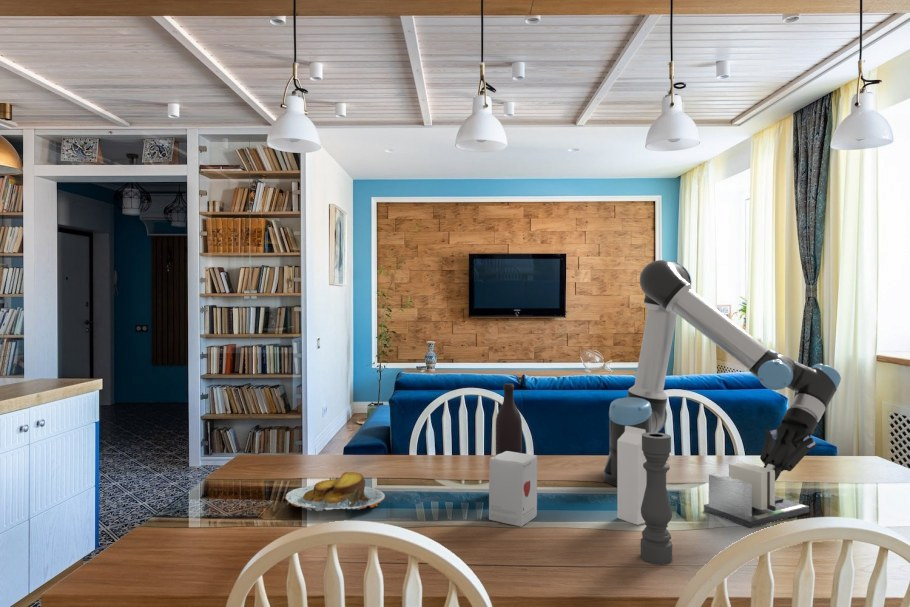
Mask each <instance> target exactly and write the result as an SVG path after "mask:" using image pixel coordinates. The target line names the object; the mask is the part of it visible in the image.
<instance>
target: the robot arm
mask: <svg viewBox="0 0 910 607" xmlns="http://www.w3.org/2000/svg"><path fill="white" fill-rule="evenodd" d="M639 285H640V288H641V291H642V292H643V294H644V299H643V304H644V305H645V307H646V308H647V311H646V317H645V318H646V319H645V324H644V330H643V335H642V341H641V347H640V350H639V351H640V352H639V358H638V363H637V369H636V375H635V380H634V385H632V386H631V387H630V388H628V391H627V397H622V398H616V399H613V401H611V402H610V405H609V411H608V418H609V454H608V458H607V460H606V462H605V465H604V469H603V474H602V476H603V478H602V479H603V481H604V482H605V483H607V484H609V485H611V486H615V487H617V440H618V439H619V438H620V437H621V436H622V434H623V433H624V432H625V426H630V427H635V428H640V429H645V430H646V433H650V432H654V433H660V431H661V430H662V429H664V426H665V425H666V422H667V419H668V411H667V410H668V409H667V408H666V407H667V401H668V395H667V394H666V393H665V391H664V388H665V384H666V377H667V372H668V366H669V360H670V356H671V350H672V343H673V340H674V339H673V338H674V335H675V334H674V333H675V327H676V322H677V317H678V316H679V317H681V318H682V319H683V320H685V321H686V322H687V323H688V324H689V325H691V326H692V327H693V328H694V329H695V330H697V331H698V332H699V333H701V334H702V335H703V336H705V337H706V338H707V339H709V340H710V341H711V342H712V343H713V344H715V345H716V346H717V347H718V348H720V349H721V350H722V351H723V352H725V353H726V354H728V355H729V356H730V357H731V358H733V359H734V360H735V361H736V362H737V363H738V364H740V365H742V366H743V367H744V368H745V369H746V370H748V371H749V372H750V373H751V374H752V375H753V376H754V377H756V378H757V379H758V381H759V382H760V384H761V385H762V386H763V387H765V388H766V389H768V390H771V391H772V390H773V391H779V390H784V389H785V388H786V389H790V390H791V391H793V392H796V394H795V396H794V397H793V399H792V401H791V402H790V404H789V407H788V408H787V410H786V412H785V413H784V415H783V417H782V419H781V423H780V425H777V427H776V429H773V430H771V429H769V428H768V429H765V440H764V442H763V446H762V450H761V453H760V457H759V458H760V461H761V463H763V467H764V468H768V469H772V470H775V482H776V481H777V480H778V479H779V477H780V475H781V473H782V472H784V471H787V472H791V471H792V470H794V469H795V467H796V466H797V465H798V464H799V463H800V462H801V461H802V460H803V458H804V457H805V456H806V455H807V454H808V453H809V452H810V451H811V450H813V449H814V448H816V447H817V443H816V442H815V440H814V439H813V438H812V436H811V435H812V434H813V433H814V431H815V429H816V428H817V426H818V423H819V422H820V420H821V419H822V416H823V415H824V413H825V411H826V410H827V408H828V406H829V404H830V402H831V401H832V399H833V397H834V395H835V394H836V392H837V391H838V387H839V385H840V383H841V380H842V377H841V374H840V372H839V371H838V370H837V369H835V368H834V367H833V366H830V365H828V364H825V365H824V364H823V363H816V364H814V365H812V366H811V367H810V366H807V365H804V364H802V363H800V362H798V361H797V360H795V359H792V358H790V357H789V356H786V355H784V354H782V353H781V352H777V351H775V350H774V349H771V348H768V347H767V346H766V345H765V344H763V343H761V342H760V341H759V340H758V339H756V338H755V337H753V336H752V335H751V333H748V332H747V331H746V330H745V329H744V328H742V327H741V326H740V325H738V324H737V323H735V322H734V321H733V320H732V319H730V318H729V316H727V315H725V314H724V313H722V312H721V311H720V310H718V308H716V307H715V306H714V305H713V304H711V303H710V302H708V301H707V300H705V299H704V298H703V297H702V296H700V295H699V294H698V293H696V292H695V291H694V290H693V289H692V277H691V274H690V272H689V270H687V269H686V267H684V266H683V265H681V263H679V262H676V261H668V260H664V259H663V260H662V259H658V260H654V261H651V262H649V263H648V264H647V265H646V266H644V268H643V269H642V270H641V272H640V275H639ZM677 315H678V316H677Z"/></svg>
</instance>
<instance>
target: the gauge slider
mask: <svg viewBox="0 0 910 607" xmlns="http://www.w3.org/2000/svg"><path fill="white" fill-rule="evenodd" d="M728 477H731V478H734V479H738V480H741V481H745V482H748V483H751V484H752V507H754V508H757V509H760V510H763V509H769V510H772V511H776V507H775V496H776V481H775V470H772V469H768V468H764V466H760V465H755V464H752V463H748V462H744V461H739V462H734V463H733V462H731V463H729V464H728Z"/></svg>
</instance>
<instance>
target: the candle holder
mask: <svg viewBox="0 0 910 607" xmlns="http://www.w3.org/2000/svg"><path fill="white" fill-rule="evenodd" d="M642 451H643V454H644V456H645V459H646V460H647V461H646V462H645V463H643V467H644V469H646V489H645V493H644V497H643V501H642V505H641V515H642V518H643V520H644V521H645V523H644V524H645V528H643V530H642V531H641V537H642V538H640V558H641V560H643V561H644V562H646V563H648V564H649V563H650V564H653V565H661V566H662V565H669V564H672V562H673V542H672V541H671V539H672V535H671V533H670V532H669V530H668V529H667V528H668V527H669V525H668V524H669V523H670V522H671V520H672V517H673V509H672V507H671V502H670V497H669V493H668V490H667V473H668V471H669V470H670V468H671V467H670V464H668V463H667V461H668V459H669V458H670V453H672V436H671V435H670V434H667V433H663V432H658V433H654V432H650V433H643V434H642Z"/></svg>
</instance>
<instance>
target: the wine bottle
mask: <svg viewBox="0 0 910 607" xmlns="http://www.w3.org/2000/svg"><path fill="white" fill-rule="evenodd" d="M502 387H503V388H502V389H503V402H502V403H501V406H500V407H499V410H498V411H497V415H496V418H495V456H496V455H498V454H501V453H503V452H505V451H511V452H517V453H523V424H522V422H523V421H522V417H521V414H520V411H519V409H518V407H517V405H516V403H515V398H514V390H515V385H514V383H503V386H502Z"/></svg>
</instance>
